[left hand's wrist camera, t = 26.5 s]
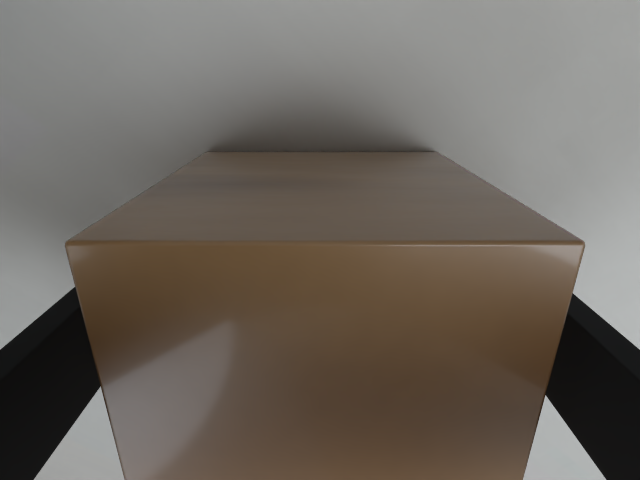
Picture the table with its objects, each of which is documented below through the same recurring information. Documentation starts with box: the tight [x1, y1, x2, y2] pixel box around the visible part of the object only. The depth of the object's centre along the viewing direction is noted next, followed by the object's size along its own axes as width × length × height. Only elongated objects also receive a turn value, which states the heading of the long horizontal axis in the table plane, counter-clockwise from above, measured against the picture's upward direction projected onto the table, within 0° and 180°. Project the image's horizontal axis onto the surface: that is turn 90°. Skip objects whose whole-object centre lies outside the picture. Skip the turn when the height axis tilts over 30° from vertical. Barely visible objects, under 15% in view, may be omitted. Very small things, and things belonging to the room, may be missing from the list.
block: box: [65, 152, 585, 480], centre depth 12 cm, size 9×9×9 cm
